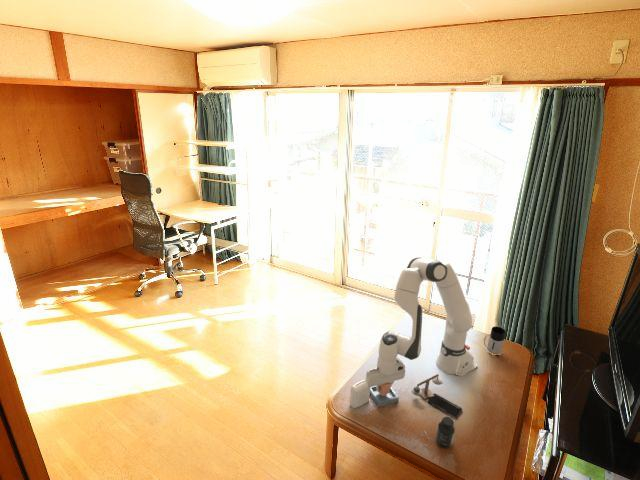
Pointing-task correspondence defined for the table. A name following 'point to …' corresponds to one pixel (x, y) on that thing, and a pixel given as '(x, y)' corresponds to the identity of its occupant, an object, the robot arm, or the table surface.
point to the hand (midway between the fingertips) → (383, 388)
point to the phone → (445, 406)
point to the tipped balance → (426, 387)
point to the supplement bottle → (445, 432)
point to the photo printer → (359, 394)
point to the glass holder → (495, 340)
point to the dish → (383, 397)
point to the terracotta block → (384, 388)
